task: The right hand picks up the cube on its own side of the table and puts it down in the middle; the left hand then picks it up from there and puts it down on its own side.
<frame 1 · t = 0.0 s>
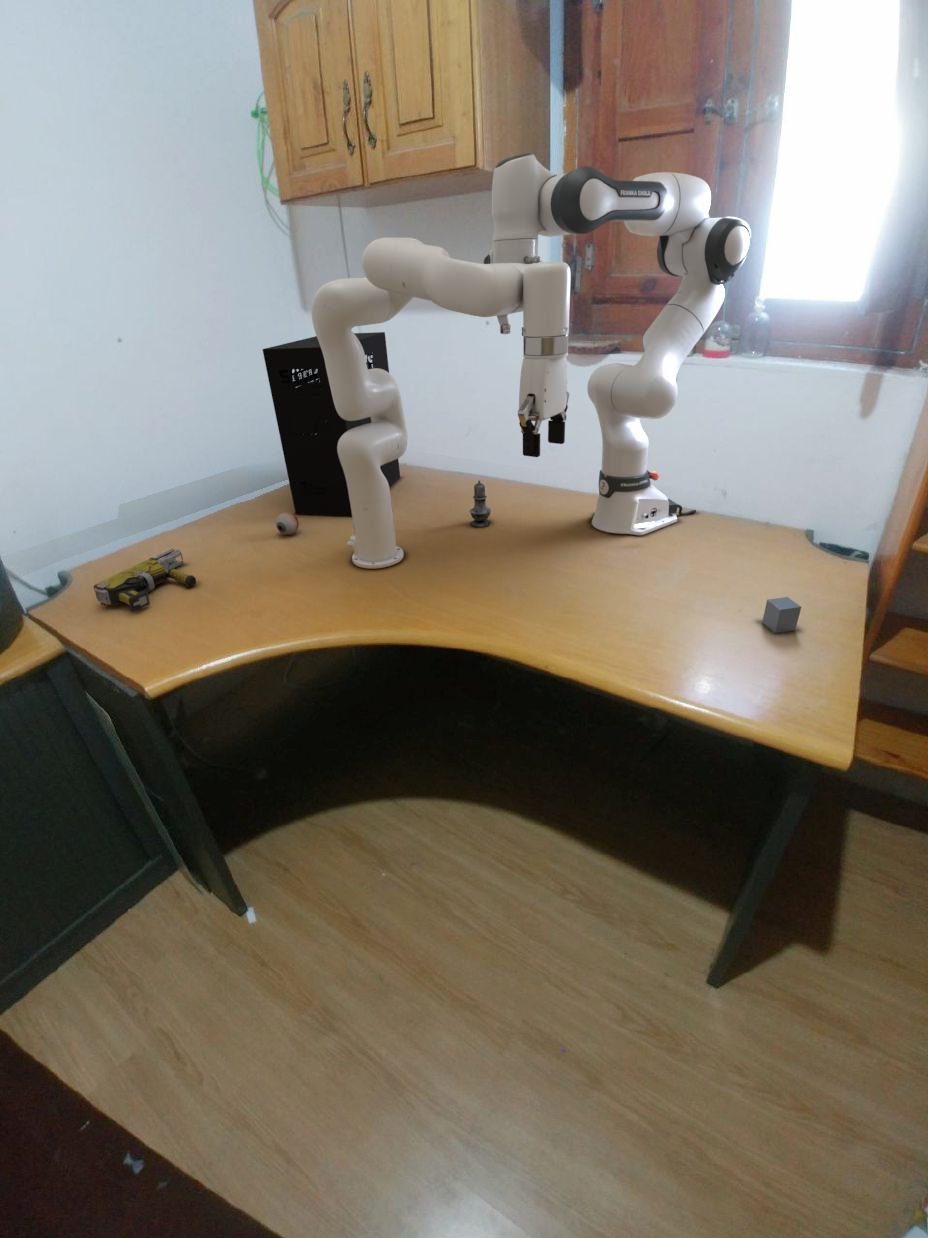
left hand: (544, 449, 110), 31 cm above the table, tool pointing down, fingers open, 9 cm apart
right hand: (516, 335, 125), 48 cm above the table, tool pointing down, fingers open, 8 cm apart
toy gun: (162, 588, 140), on the table
black tall box: (351, 494, 193), on the table
grey chess piece: (480, 523, 165), on the table
eyeball: (289, 534, 165), on the table
cube: (778, 626, 112), on the table
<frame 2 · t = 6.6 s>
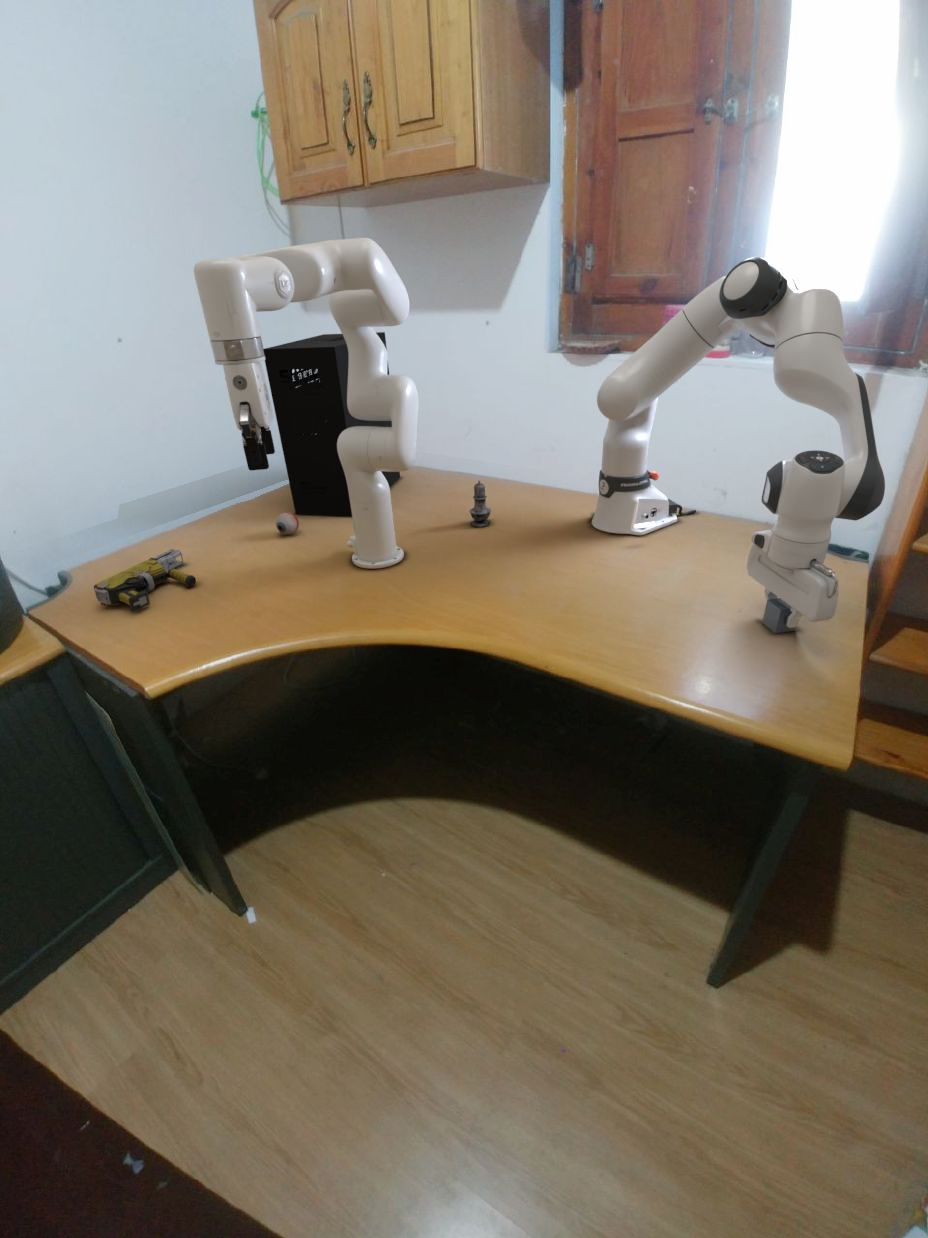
left hand: (262, 461, 102), 34 cm above the table, tool pointing down, fingers open, 9 cm apart
right hand: (780, 618, 111), 2 cm above the table, tool pointing down, fingers closed on cube, 4 cm apart
cube: (778, 626, 112), on the table, touching right hand
everything else where it was.
when the right hand's fingers open (3 cm above the table, at t = 11.9 s): cube stays where it is, on the table.
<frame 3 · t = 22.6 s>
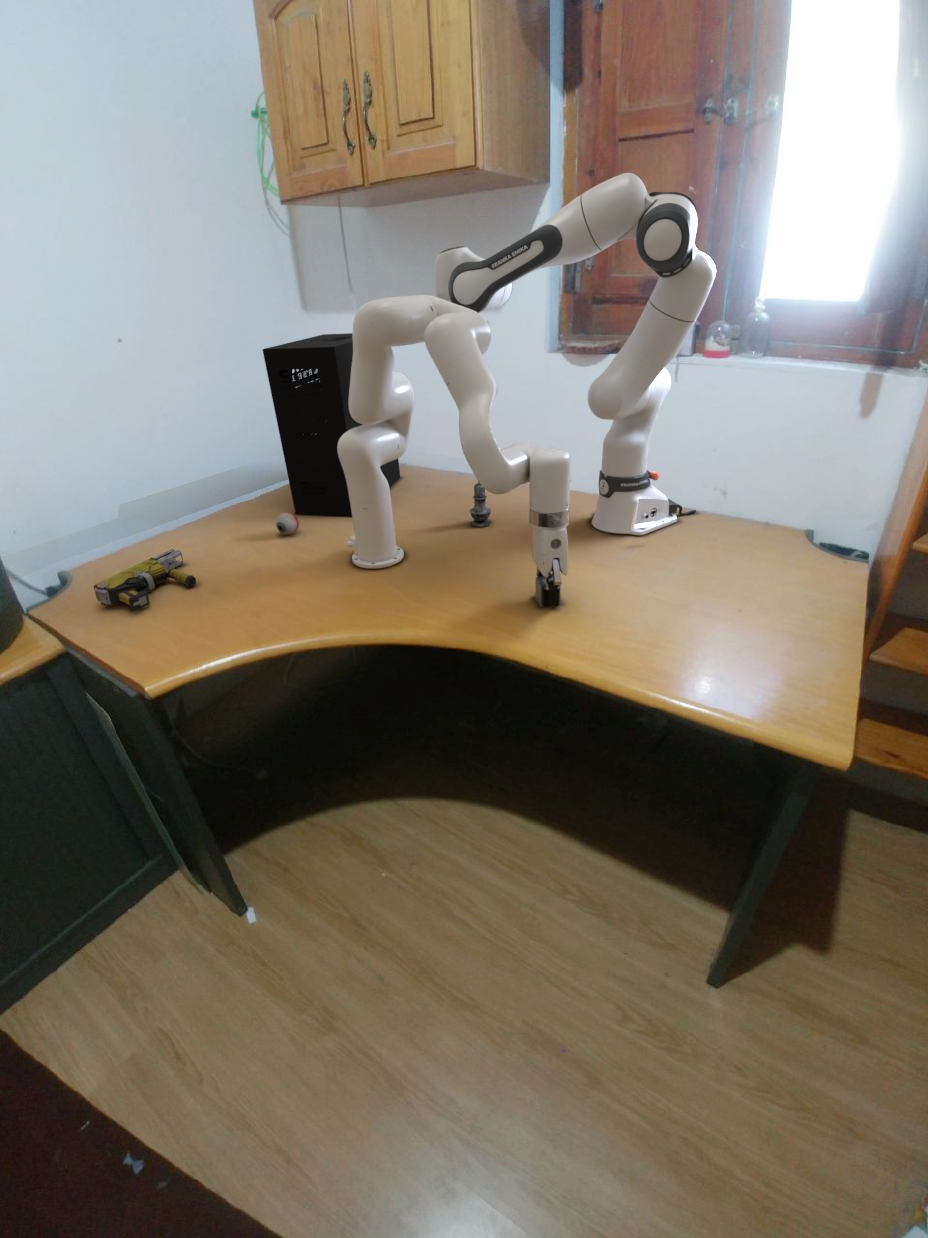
left hand: (547, 599, 125), 1 cm above the table, tool pointing down, fingers closed on cube, 4 cm apart
right hand: (459, 386, 152), 35 cm above the table, tool pointing down, fingers open, 8 cm apart
cube: (547, 601, 125), on the table, touching left hand
everything else where it was.
when the left hand's fingers open (1 cm above the table, at t = 29.2 s): cube stays where it is, on the table.
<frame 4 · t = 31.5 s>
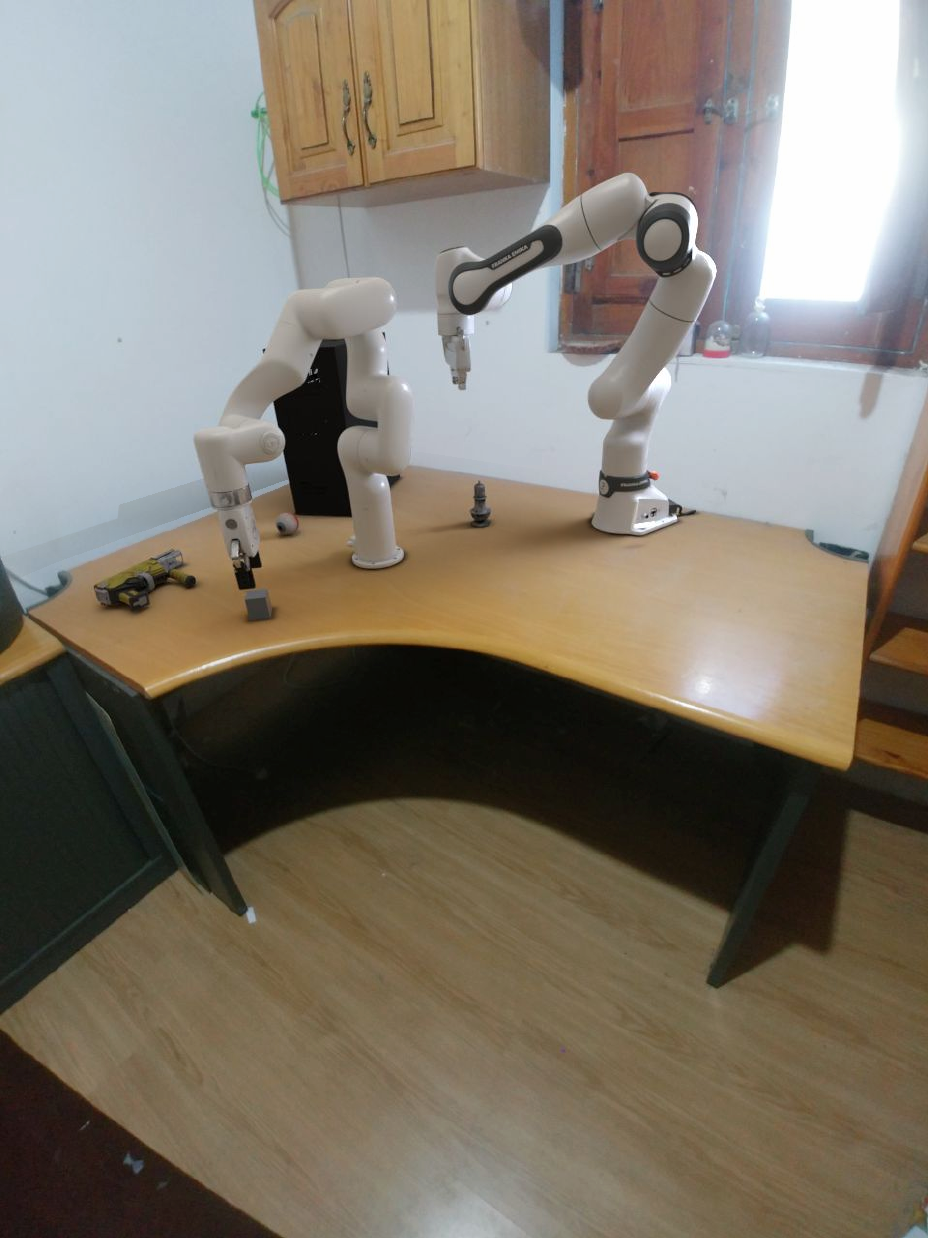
left hand: (251, 577, 122), 9 cm above the table, tool pointing down, fingers open, 9 cm apart
right hand: (459, 386, 152), 35 cm above the table, tool pointing down, fingers open, 8 cm apart
cube: (261, 614, 126), on the table
everything else where it was.
at the end: cube inside the target area (0.1 cm from its centre), on the table; cube tilted 0°; the two hands never held the cube at the same time; the left hand is holding nothing; the right hand is holding nothing; cube at rest at the end (0.0 cm/s) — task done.
